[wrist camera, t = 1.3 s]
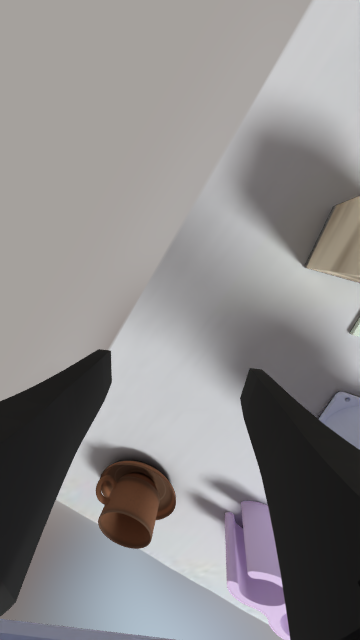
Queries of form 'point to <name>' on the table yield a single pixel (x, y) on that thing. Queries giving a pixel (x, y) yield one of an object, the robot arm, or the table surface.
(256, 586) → the clip
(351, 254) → the maple block
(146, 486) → the cup and saucer
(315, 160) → the table surface
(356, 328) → the mat
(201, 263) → the table surface
